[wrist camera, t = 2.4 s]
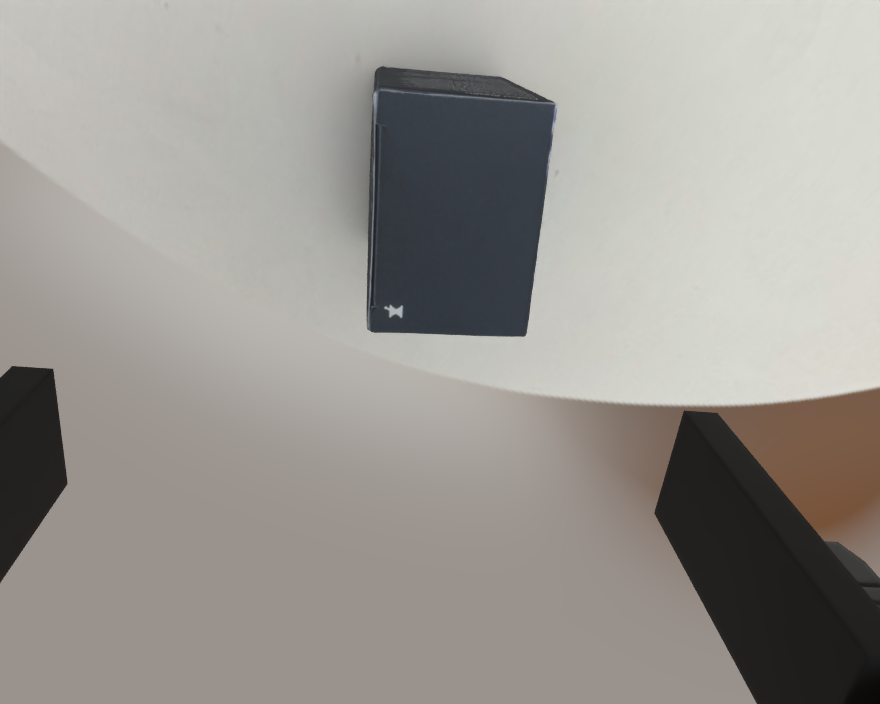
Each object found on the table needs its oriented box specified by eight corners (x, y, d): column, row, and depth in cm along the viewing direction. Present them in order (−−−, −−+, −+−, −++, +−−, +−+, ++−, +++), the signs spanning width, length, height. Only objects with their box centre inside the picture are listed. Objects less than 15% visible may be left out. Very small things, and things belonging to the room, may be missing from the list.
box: (487, 250, 34) (528, 343, 25) (367, 244, 34) (360, 335, 24) (506, 73, 31) (563, 100, 21) (374, 63, 30) (370, 86, 21)
